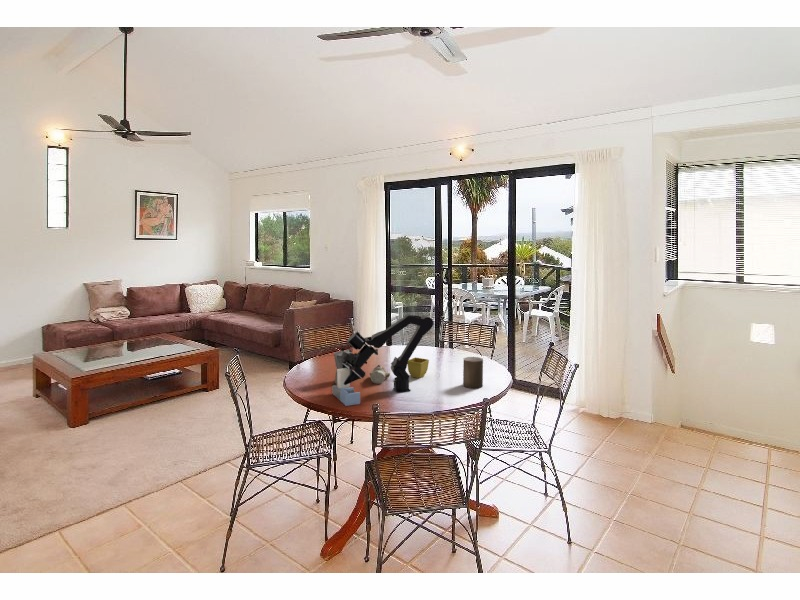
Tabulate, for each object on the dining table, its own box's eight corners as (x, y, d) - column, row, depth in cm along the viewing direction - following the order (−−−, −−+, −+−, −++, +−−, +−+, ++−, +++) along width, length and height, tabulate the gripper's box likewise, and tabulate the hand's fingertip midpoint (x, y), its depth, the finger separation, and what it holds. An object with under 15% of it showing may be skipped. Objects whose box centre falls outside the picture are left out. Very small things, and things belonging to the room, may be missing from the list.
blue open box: (345, 391, 234) (345, 383, 233) (354, 398, 224) (354, 390, 223) (332, 393, 231) (332, 385, 230) (340, 400, 221) (340, 392, 220)
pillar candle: (482, 389, 237) (483, 359, 235) (462, 388, 239) (462, 358, 237) (482, 383, 247) (483, 354, 245) (463, 382, 249) (464, 353, 247)
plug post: (346, 393, 231) (346, 367, 229) (349, 396, 227) (349, 370, 225) (337, 395, 229) (337, 369, 227) (340, 397, 225) (340, 371, 223)
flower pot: (429, 375, 260) (429, 359, 259) (421, 379, 253) (421, 363, 252) (415, 373, 265) (415, 357, 264) (406, 377, 258) (406, 360, 256)
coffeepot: (345, 386, 242) (345, 351, 239) (328, 384, 245) (328, 349, 243) (359, 378, 256) (358, 344, 253) (343, 376, 259) (342, 343, 257)
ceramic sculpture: (366, 367, 244) (370, 361, 258) (366, 384, 244) (370, 377, 259) (387, 368, 243) (390, 362, 258) (387, 385, 243) (390, 378, 258)
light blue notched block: (353, 397, 225) (353, 385, 224) (360, 403, 217) (360, 390, 216) (339, 399, 222) (339, 387, 221) (345, 405, 214) (345, 392, 213)
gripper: (344, 341, 235) (322, 366, 231) (358, 349, 218) (335, 376, 215) (360, 355, 239) (338, 380, 236) (375, 364, 223) (352, 391, 219)
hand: (340, 381), depth 226 cm, fingers open, 9 cm apart
